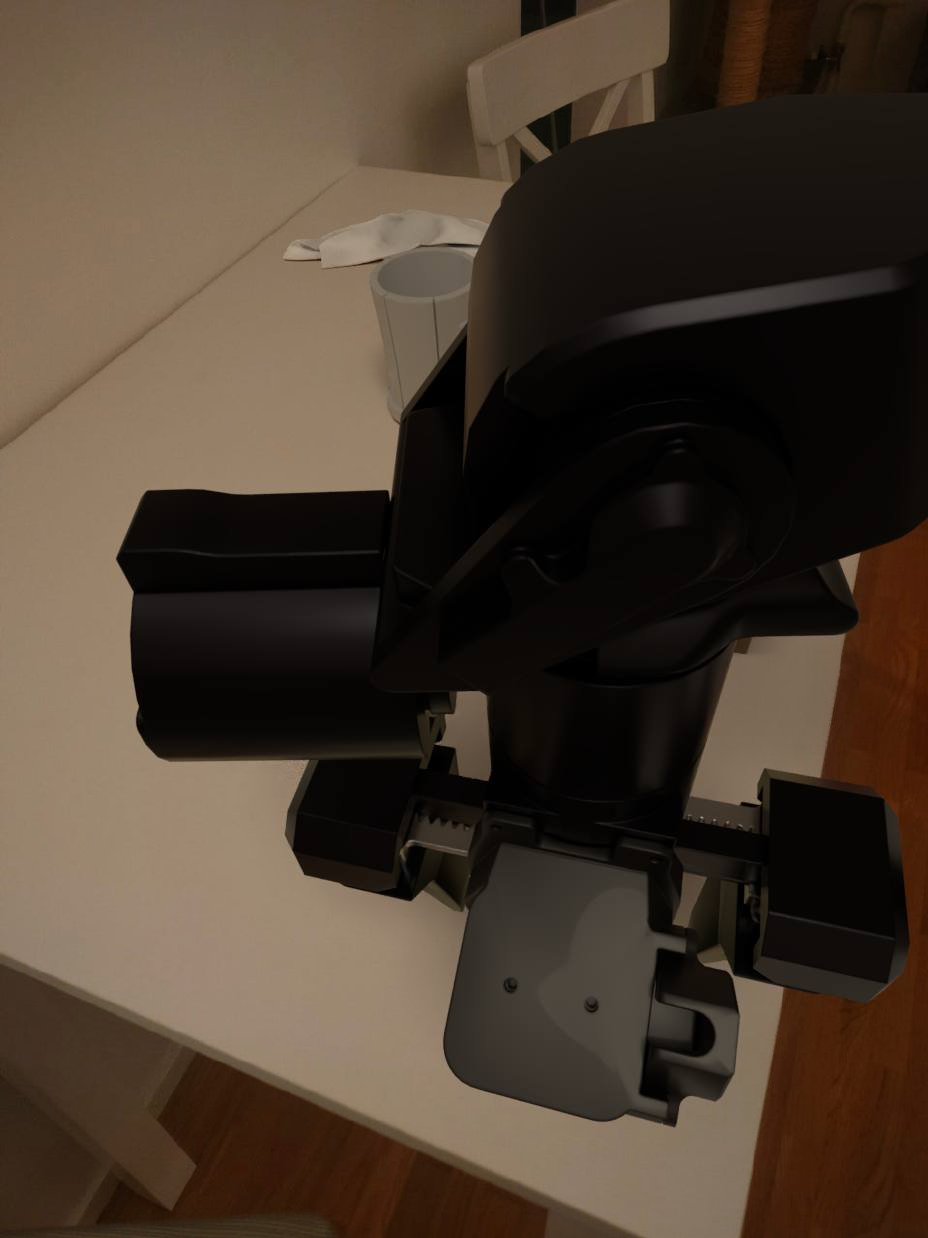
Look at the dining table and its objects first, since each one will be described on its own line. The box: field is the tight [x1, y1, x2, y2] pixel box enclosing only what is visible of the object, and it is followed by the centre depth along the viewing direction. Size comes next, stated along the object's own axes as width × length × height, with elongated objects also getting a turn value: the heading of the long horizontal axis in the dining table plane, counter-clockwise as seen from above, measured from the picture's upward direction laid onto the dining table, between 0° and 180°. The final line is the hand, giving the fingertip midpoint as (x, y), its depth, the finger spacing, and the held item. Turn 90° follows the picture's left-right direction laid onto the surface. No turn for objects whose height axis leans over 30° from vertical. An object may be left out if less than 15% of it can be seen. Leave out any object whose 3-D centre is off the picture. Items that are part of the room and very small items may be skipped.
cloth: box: [282, 208, 490, 270], centre depth 92 cm, size 26×14×2 cm, turn 80°
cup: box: [368, 247, 474, 424], centre depth 67 cm, size 10×9×12 cm
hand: (572, 925), depth 33 cm, fingers open, 9 cm apart
